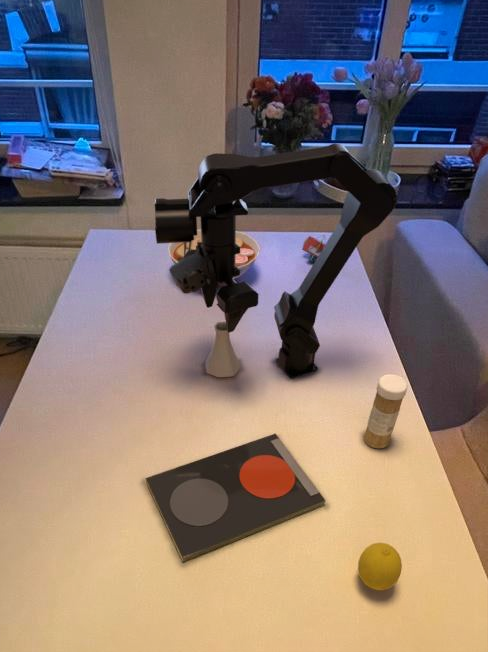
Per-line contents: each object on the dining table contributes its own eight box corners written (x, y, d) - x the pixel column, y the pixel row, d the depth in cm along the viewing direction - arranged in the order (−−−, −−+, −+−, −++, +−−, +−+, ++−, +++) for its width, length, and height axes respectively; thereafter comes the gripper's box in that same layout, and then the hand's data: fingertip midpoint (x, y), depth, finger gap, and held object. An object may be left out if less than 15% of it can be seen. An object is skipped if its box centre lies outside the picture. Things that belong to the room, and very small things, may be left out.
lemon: (349, 565, 75) (359, 533, 69) (386, 562, 75) (400, 530, 70) (359, 601, 71) (371, 571, 65) (399, 598, 71) (414, 568, 66)
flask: (236, 380, 104) (237, 339, 97) (201, 376, 105) (199, 334, 98) (242, 358, 109) (244, 318, 102) (209, 354, 110) (208, 313, 103)
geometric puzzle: (338, 249, 140) (323, 224, 137) (334, 261, 135) (319, 235, 132) (315, 261, 144) (300, 236, 141) (310, 273, 140) (295, 248, 136)
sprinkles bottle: (378, 428, 95) (395, 370, 86) (394, 444, 92) (414, 386, 83) (357, 435, 94) (373, 377, 84) (373, 453, 91) (391, 394, 81)
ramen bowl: (260, 301, 125) (262, 270, 120) (164, 300, 125) (162, 269, 120) (257, 252, 143) (258, 223, 138) (173, 251, 143) (171, 222, 138)
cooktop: (274, 438, 93) (275, 432, 92) (324, 504, 83) (325, 499, 82) (146, 482, 86) (145, 476, 85) (182, 562, 75) (182, 556, 74)
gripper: (153, 227, 91) (161, 305, 102) (196, 275, 79) (200, 358, 90) (211, 214, 94) (213, 291, 105) (261, 259, 82) (258, 341, 93)
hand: (219, 318), depth 98 cm, fingers open, 9 cm apart
